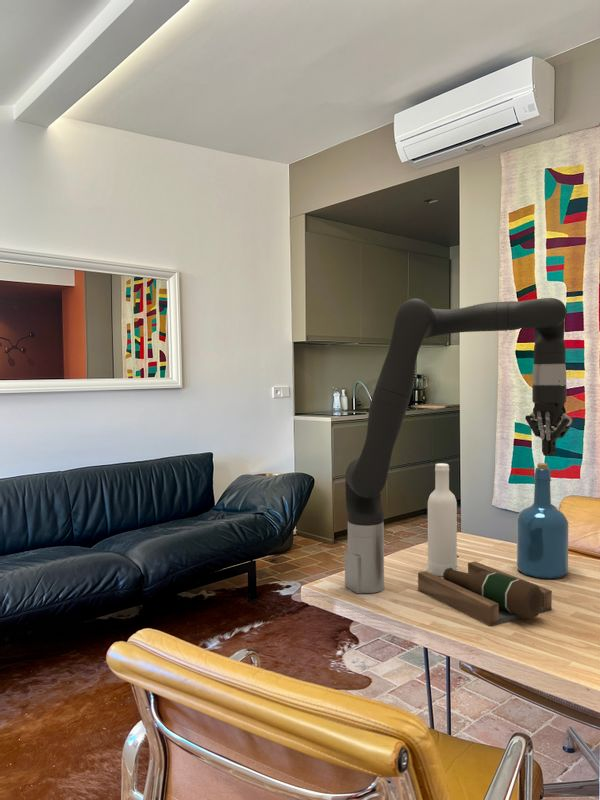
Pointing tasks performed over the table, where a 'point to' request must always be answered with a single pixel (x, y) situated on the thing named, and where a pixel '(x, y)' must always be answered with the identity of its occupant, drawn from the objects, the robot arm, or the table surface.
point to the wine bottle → (542, 533)
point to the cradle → (472, 596)
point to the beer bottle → (501, 591)
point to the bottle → (442, 524)
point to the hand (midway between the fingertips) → (548, 455)
